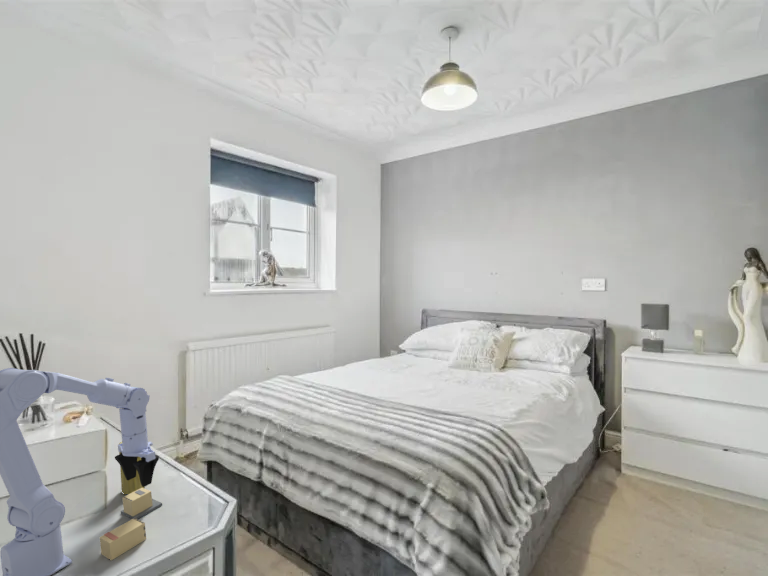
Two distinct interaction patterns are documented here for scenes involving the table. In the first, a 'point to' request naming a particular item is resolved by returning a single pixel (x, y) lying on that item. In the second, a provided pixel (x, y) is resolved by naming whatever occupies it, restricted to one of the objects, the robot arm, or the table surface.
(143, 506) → the stub
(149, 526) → the table surface
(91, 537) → the table surface
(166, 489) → the table surface
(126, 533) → the cardboard shipping box
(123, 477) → the vase
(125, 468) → the robot arm
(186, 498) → the table surface
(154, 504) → the coaster
